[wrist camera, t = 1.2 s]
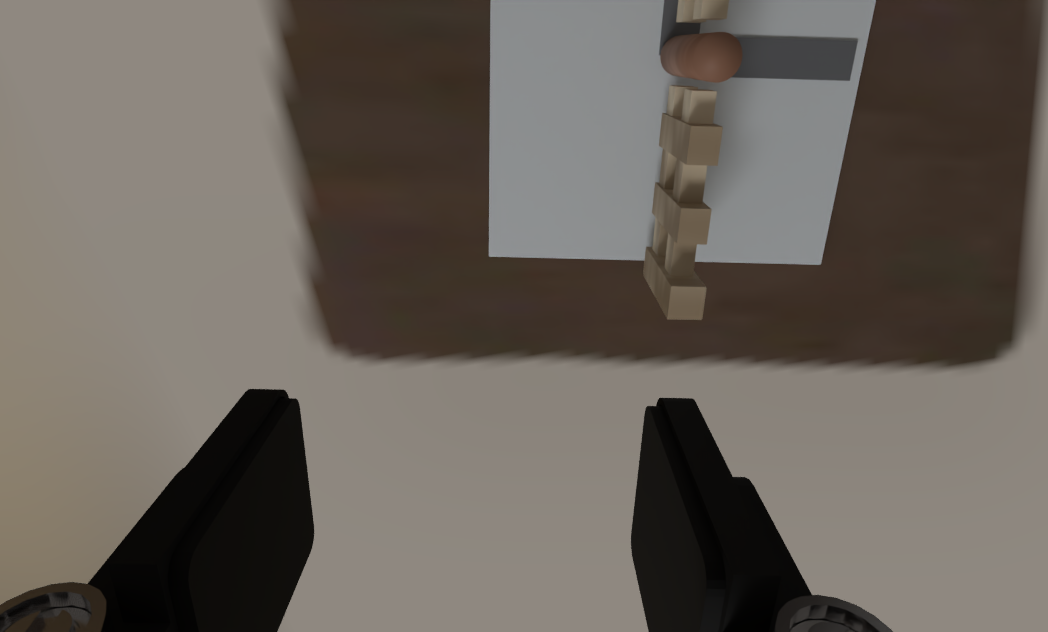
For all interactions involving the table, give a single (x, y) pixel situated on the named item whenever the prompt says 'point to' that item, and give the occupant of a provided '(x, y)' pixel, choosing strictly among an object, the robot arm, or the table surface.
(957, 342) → the table surface
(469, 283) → the table surface
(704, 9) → the fence fixed
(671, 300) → the beige stepped wooden piece
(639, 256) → the card
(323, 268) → the table surface
